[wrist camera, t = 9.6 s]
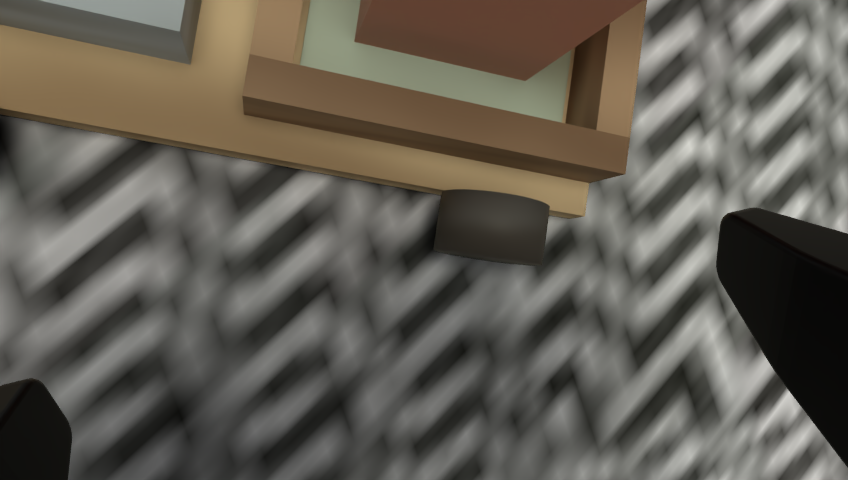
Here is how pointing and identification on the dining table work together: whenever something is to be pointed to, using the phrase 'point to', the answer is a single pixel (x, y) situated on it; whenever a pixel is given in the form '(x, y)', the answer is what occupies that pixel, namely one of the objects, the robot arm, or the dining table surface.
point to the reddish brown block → (486, 30)
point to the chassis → (335, 104)
